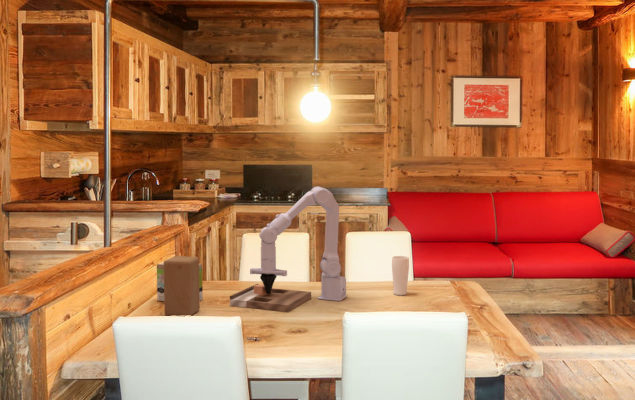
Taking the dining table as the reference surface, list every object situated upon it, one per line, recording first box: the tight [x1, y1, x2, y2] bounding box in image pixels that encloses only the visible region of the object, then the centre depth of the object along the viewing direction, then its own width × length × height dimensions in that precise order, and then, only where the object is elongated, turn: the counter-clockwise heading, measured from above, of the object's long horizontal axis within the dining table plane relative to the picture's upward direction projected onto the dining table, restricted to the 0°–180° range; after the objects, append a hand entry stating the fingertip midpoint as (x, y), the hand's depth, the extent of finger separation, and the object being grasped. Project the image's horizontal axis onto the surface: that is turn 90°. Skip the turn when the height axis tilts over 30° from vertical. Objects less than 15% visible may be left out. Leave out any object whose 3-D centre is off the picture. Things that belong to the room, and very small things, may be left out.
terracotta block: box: [253, 283, 272, 295], centre depth 253 cm, size 5×5×3 cm
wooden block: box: [162, 255, 201, 316], centre depth 233 cm, size 10×10×20 cm
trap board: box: [229, 283, 312, 313], centre depth 249 cm, size 24×22×4 cm
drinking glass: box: [391, 255, 410, 296], centre depth 260 cm, size 7×7×15 cm
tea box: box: [156, 262, 204, 302], centre depth 251 cm, size 15×10×15 cm, turn 62°
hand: (268, 293), depth 249 cm, fingers closed
